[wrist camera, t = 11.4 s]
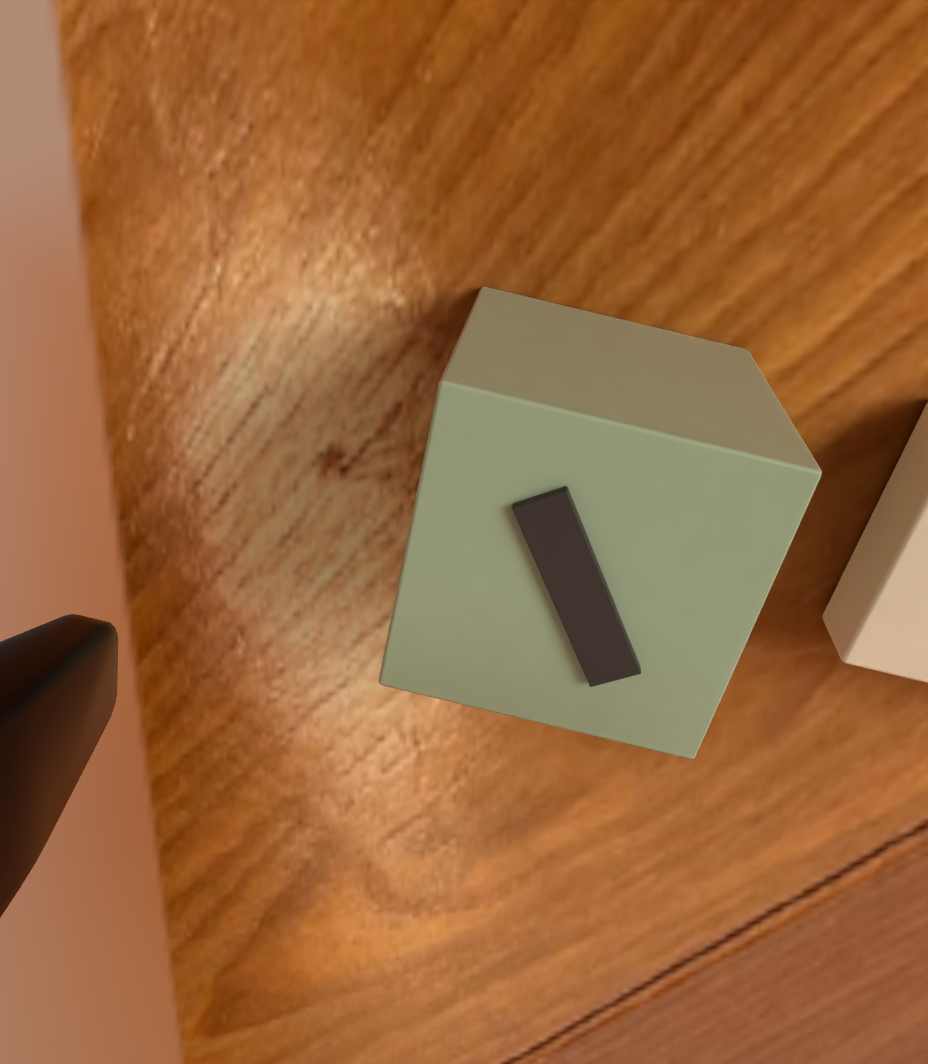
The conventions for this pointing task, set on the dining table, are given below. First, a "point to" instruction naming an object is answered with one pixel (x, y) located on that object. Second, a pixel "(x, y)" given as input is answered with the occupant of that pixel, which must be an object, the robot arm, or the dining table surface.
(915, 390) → the dining table surface
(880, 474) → the dining table surface
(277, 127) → the dining table surface
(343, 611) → the dining table surface
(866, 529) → the beige letter tiles
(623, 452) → the green letter i block
